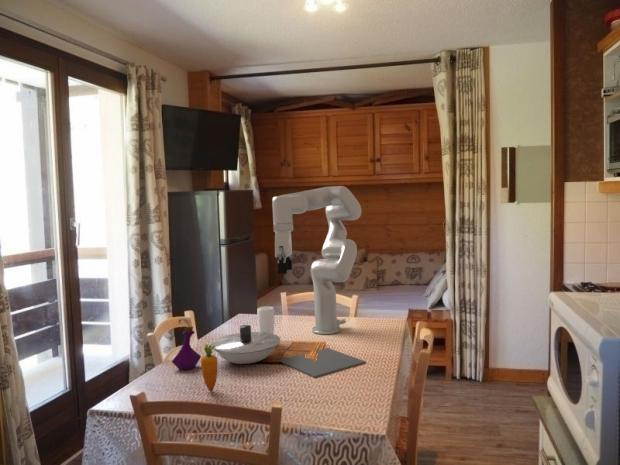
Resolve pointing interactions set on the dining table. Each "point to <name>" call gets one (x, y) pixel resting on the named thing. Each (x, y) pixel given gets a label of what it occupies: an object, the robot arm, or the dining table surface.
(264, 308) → the drinking glass
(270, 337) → the lid
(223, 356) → the soup bowl
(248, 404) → the dining table surface
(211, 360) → the carrot
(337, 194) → the robot arm
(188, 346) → the perfume bottle
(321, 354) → the mat
